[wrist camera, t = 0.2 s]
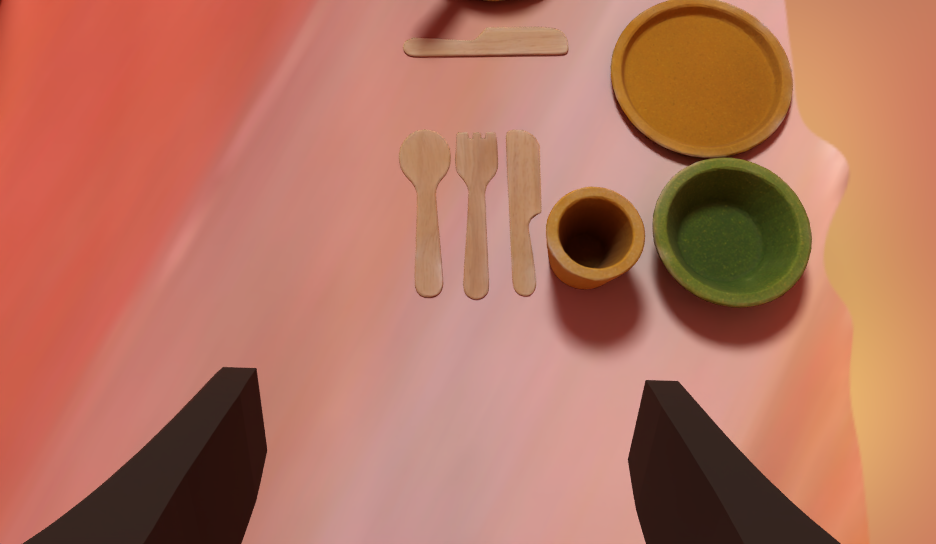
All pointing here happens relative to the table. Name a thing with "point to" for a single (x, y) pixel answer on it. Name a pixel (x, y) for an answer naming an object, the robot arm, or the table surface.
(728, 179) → the tableware set
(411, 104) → the table surface
